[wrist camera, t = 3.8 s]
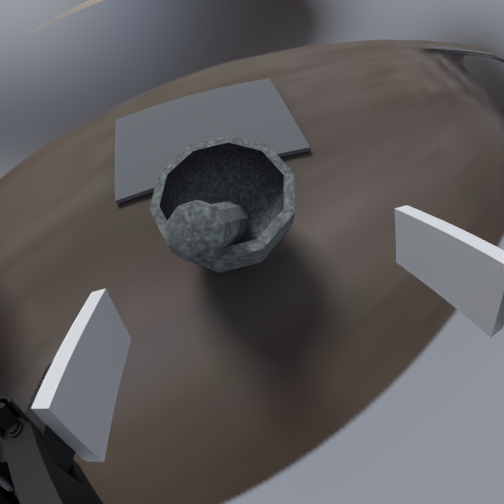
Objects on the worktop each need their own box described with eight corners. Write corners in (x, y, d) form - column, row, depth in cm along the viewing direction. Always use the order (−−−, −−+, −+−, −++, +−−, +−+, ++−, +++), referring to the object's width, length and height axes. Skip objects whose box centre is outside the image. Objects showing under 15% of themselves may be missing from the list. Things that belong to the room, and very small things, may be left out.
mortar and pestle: (188, 186, 27) (150, 87, 16) (287, 188, 27) (297, 81, 15) (168, 303, 23) (91, 246, 12) (285, 311, 22) (305, 255, 11)
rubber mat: (117, 204, 27) (114, 201, 26) (117, 123, 32) (115, 119, 31) (309, 151, 28) (310, 147, 28) (269, 82, 33) (269, 78, 32)
